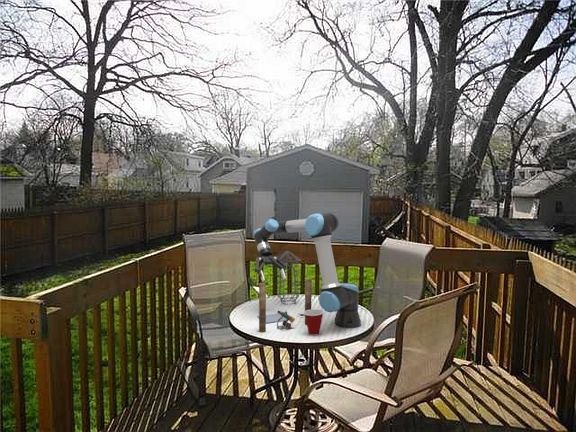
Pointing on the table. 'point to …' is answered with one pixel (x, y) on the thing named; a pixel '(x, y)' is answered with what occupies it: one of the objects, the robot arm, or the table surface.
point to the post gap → (263, 302)
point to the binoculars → (285, 323)
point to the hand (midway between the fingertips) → (274, 280)
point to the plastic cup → (314, 320)
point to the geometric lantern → (286, 272)
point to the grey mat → (274, 318)
